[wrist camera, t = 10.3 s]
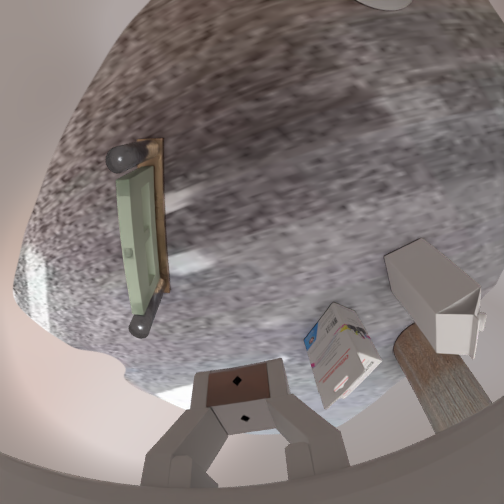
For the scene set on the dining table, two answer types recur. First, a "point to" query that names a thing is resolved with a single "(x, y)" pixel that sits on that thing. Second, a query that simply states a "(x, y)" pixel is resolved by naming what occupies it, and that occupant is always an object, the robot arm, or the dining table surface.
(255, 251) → the dining table surface
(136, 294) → the gate
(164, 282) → the drawknife
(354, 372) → the ink box
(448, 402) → the planter
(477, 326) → the milk carton
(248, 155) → the dining table surface
